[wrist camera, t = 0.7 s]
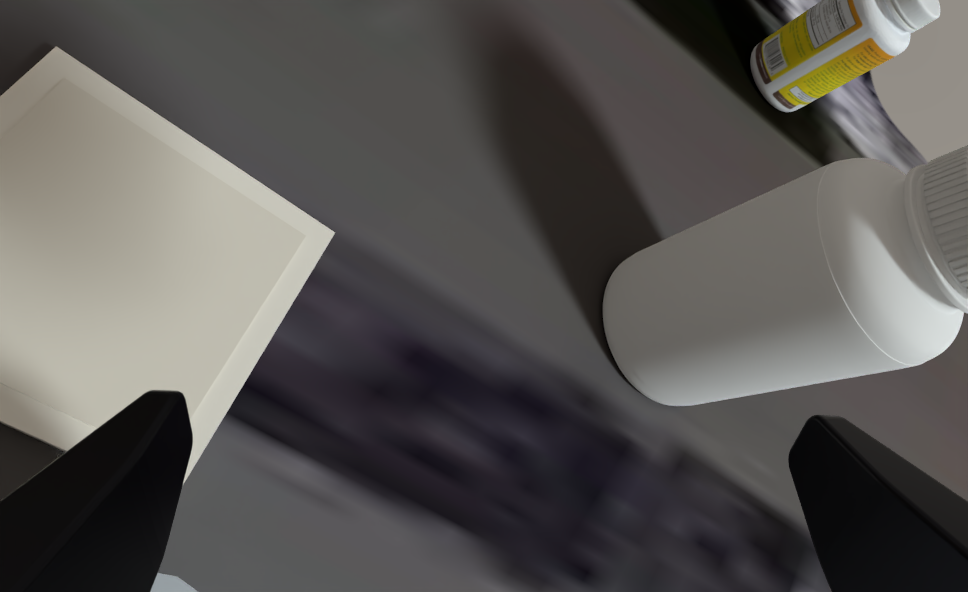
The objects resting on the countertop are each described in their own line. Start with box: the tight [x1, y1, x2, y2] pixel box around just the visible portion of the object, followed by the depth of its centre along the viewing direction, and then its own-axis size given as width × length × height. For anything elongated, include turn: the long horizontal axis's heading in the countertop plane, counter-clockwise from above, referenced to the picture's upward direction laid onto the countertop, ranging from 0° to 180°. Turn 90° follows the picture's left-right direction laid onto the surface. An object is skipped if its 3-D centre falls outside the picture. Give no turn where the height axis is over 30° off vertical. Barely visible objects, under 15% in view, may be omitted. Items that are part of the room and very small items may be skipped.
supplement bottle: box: [750, 0, 940, 112], centre depth 42 cm, size 6×6×10 cm
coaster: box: [0, 47, 335, 486], centre depth 19 cm, size 10×10×1 cm
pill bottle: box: [603, 145, 968, 406], centre depth 26 cm, size 8×8×15 cm
